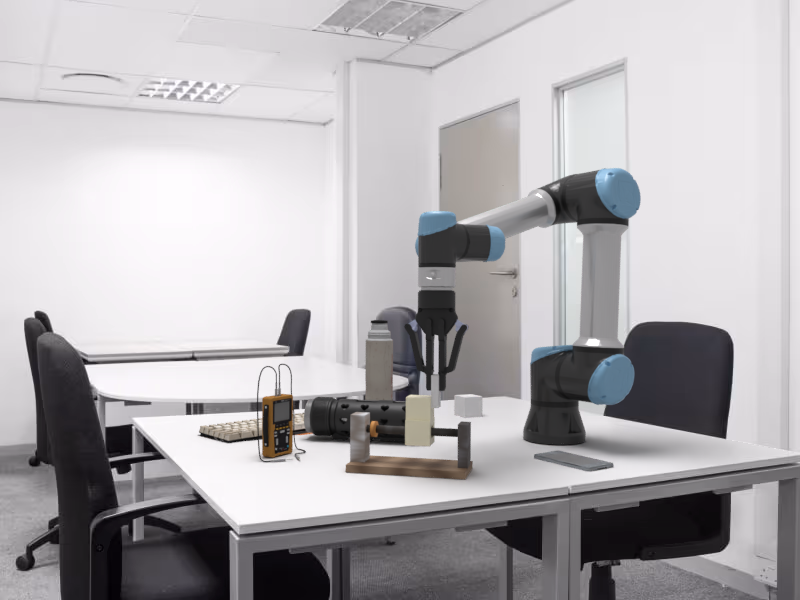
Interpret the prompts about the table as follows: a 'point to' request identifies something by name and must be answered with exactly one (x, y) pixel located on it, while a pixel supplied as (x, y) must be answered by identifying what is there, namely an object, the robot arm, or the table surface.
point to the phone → (573, 460)
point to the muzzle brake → (335, 415)
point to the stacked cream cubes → (419, 421)
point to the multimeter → (277, 423)
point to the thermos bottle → (379, 362)
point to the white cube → (468, 405)
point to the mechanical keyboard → (245, 430)
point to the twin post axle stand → (405, 465)
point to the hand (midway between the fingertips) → (435, 407)
